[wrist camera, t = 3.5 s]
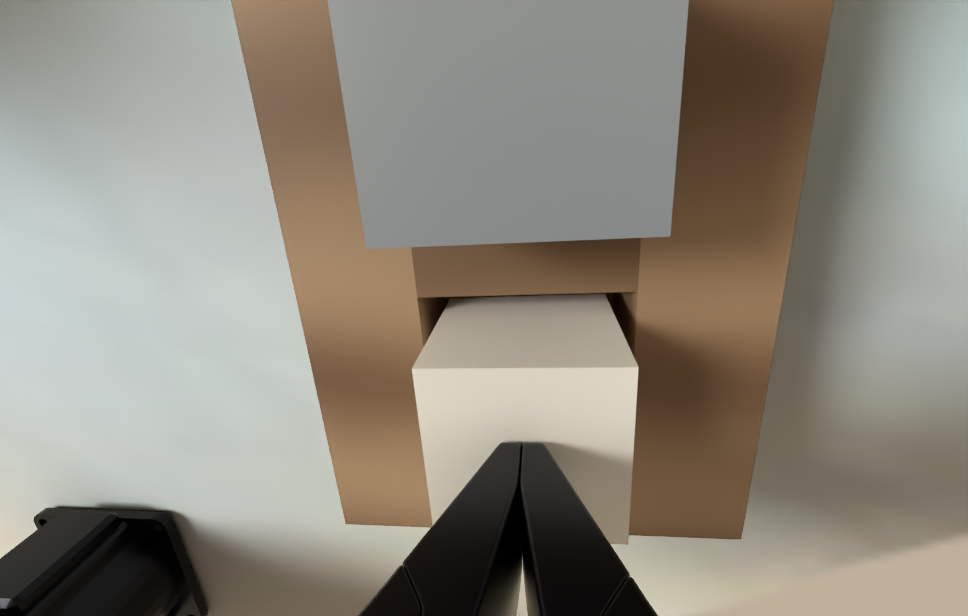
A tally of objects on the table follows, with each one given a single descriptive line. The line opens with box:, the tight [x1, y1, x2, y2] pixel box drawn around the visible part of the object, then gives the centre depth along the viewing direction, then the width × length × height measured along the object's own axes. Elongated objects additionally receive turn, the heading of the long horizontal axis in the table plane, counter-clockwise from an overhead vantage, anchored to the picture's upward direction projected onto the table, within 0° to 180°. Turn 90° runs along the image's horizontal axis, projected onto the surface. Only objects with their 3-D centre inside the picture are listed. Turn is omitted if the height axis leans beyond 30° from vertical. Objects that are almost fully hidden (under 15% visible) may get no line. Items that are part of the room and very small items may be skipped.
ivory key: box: [412, 294, 639, 544], centre depth 10 cm, size 4×4×4 cm
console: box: [231, 0, 834, 539], centre depth 11 cm, size 22×11×4 cm, turn 4°
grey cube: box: [327, 0, 689, 249], centre depth 7 cm, size 4×4×4 cm
